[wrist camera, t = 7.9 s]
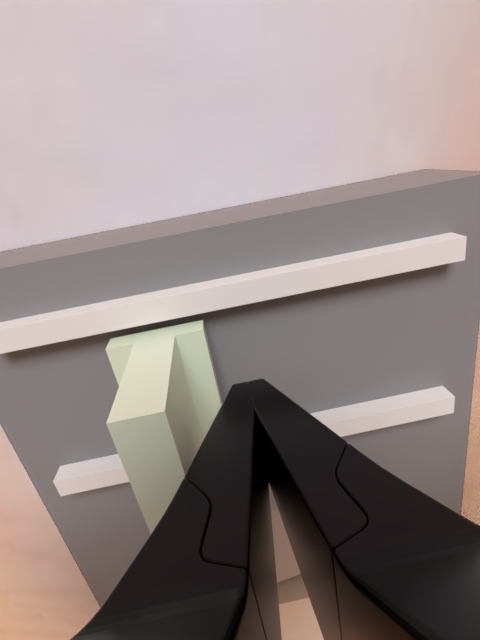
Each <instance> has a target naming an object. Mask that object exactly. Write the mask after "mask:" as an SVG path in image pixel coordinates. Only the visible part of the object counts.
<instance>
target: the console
mask: <svg viewBox="0 0 480 640" xmlns="http://www.w3.org/2000/svg"><path fill="white" fill-rule="evenodd" d="M199 320H203V322H204V326H205V330H206V335H207V339H208V343H209V347H210V352H211V356H212V360H213V364H214V369H215V373H216V377H217V381H218V386H219V390H220V394H221V398H222V403H223V402H224V400H225V398H226V396H227V394H228V392H229V390H230V388H231V386H232V385H233V384H237V383H242V382H249V381H252V380H256V379H265V380H266V381H267V382H269V383H270V384H271V385H273V386H274V387H275V388H277V389H278V390H279V391H281V392H282V393H283V394H285V395H286V396H287V397H289V398H290V399H291V400H292V401H294V402H295V403H296V404H298V405H299V406H300V407H302V408H303V409H304V410H306V411H307V412H308V413H310V414H311V415H312V416H314V417H315V418H316V419H318V420H319V421H320V422H321V423H323V424H324V425H325V426H327V427H328V428H329V429H331V430H332V431H333V432H335V433H336V434H337V435H339V436H340V437H341V438H343V439H344V440H345V441H347V443H348V444H351V445H352V446H353V447H355V448H356V449H357V450H359V451H360V452H361V453H363V454H364V455H365V456H367V457H368V458H370V459H371V460H372V461H374V462H375V463H377V464H378V465H379V466H381V467H382V468H384V469H386V470H387V471H389V472H390V473H392V474H394V475H395V476H397V477H398V478H400V479H401V480H403V481H405V482H406V483H408V484H410V485H411V486H413V487H415V488H416V489H418V490H420V491H421V492H423V493H425V494H426V495H428V496H430V497H431V498H433V499H435V500H436V501H438V502H440V503H441V504H443V505H445V506H446V507H448V508H450V509H451V510H453V511H455V512H456V513H458V514H460V515H461V507H462V497H463V486H464V476H465V466H466V455H467V445H468V434H469V424H470V414H471V403H472V393H473V383H474V372H475V362H476V351H477V341H478V331H479V320H480V171H459V170H435V169H424V170H419V171H414V172H409V173H403V174H398V175H393V176H388V177H383V178H378V179H373V180H368V181H362V182H357V183H352V184H347V185H342V186H337V187H332V188H326V189H321V190H316V191H311V192H306V193H301V194H296V195H290V196H285V197H280V198H275V199H270V200H265V201H260V202H254V203H249V204H244V205H239V206H234V207H229V208H224V209H219V210H213V211H208V212H203V213H198V214H193V215H188V216H183V217H177V218H172V219H167V220H162V221H157V222H152V223H147V224H141V225H136V226H131V227H126V228H121V229H116V230H111V231H105V232H100V233H95V234H90V235H85V236H80V237H75V238H70V239H64V240H59V241H54V242H49V243H44V244H39V245H34V246H28V247H23V248H18V249H13V250H8V251H3V252H0V424H1V426H2V428H3V430H4V431H5V433H6V435H7V437H8V439H9V441H10V442H11V444H12V446H13V448H14V450H15V452H16V453H17V455H18V457H19V459H20V461H21V463H22V464H23V466H24V468H25V470H26V472H27V474H28V475H29V477H30V479H31V481H32V483H33V485H34V486H35V488H36V490H37V492H38V494H39V496H40V497H41V499H42V501H43V503H44V505H45V507H46V508H47V510H48V512H49V514H50V516H51V517H52V519H53V521H54V523H55V525H56V527H57V528H58V530H59V532H60V534H61V536H62V538H63V539H64V541H65V543H66V545H67V547H68V549H69V550H70V552H71V554H72V556H73V558H74V560H75V561H76V563H77V565H78V567H79V569H80V571H81V572H82V574H83V576H84V578H85V580H86V582H87V583H88V585H89V587H90V589H91V591H92V593H93V594H94V596H95V598H96V600H97V602H98V604H99V605H100V607H102V605H103V604H104V603H105V601H106V600H107V598H108V597H109V596H110V594H111V593H112V591H113V590H114V588H115V587H116V585H117V584H118V582H119V581H120V579H121V578H122V576H123V575H124V573H125V572H126V570H127V569H128V567H129V566H130V565H131V563H132V562H133V560H134V559H135V557H136V556H137V554H138V553H139V551H140V550H141V548H142V547H143V545H144V544H145V542H146V541H147V539H148V538H149V536H150V535H151V534H150V531H149V529H148V526H147V524H146V521H145V519H144V517H143V514H142V512H141V509H140V507H139V504H138V502H137V499H136V497H135V494H134V492H133V489H132V487H131V484H130V482H129V479H128V477H127V474H126V472H125V469H124V467H123V464H122V462H121V459H120V457H119V454H118V452H117V449H116V447H115V444H114V442H113V439H112V437H111V434H110V432H109V429H108V427H107V424H106V423H107V420H108V417H109V414H110V411H111V408H112V405H113V402H114V400H115V397H116V394H117V391H118V388H119V385H118V383H117V380H116V377H115V374H114V372H113V369H112V366H111V363H110V361H109V358H108V355H107V352H106V350H105V349H106V347H107V345H108V343H109V341H110V339H111V338H115V337H120V336H125V335H130V334H135V333H140V332H145V331H150V330H155V329H159V328H164V327H169V326H174V325H179V324H184V323H189V322H194V321H199ZM299 575H301V574H299ZM299 575H297V576H299ZM294 577H295V576H294Z"/></svg>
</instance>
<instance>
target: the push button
mask: <svg viewBox="0 0 480 640" xmlns="http://www.w3.org/2000/svg"><path fill="white" fill-rule="evenodd" d="M277 588H278V600H279V612H280V624H281V636H282V640H324V638H323V636H322V633H321V630H320V627H319V624H318V621H317V618H316V616H315V613H314V610H313V607H312V604H311V601H310V598H309V596H308V593H307V590H306V587H305V584H304V581H303V578H302V576H301V575H299V576H295V577H291V578H289V579H286V580H283V581H281V582H278V583H277Z"/></svg>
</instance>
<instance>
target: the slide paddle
mask: <svg viewBox="0 0 480 640" xmlns="http://www.w3.org/2000/svg"><path fill="white" fill-rule="evenodd" d="M105 350H106V352H107V355H108V358H109V361H110V363H111V366H112V369H113V372H114V374H115V377H116V380H117V383H118V385H119V388H118V391H117V394H116V397H115V400H114V402H113V405H112V408H111V411H110V414H109V417H108V420H107V423H106V424H107V427H108V429H109V432H110V434H111V437H112V439H113V442H114V444H115V447H116V449H117V452H118V454H119V457H120V459H121V462H122V464H123V467H124V469H125V472H126V474H127V477H128V479H129V482H130V484H131V487H132V489H133V492H134V494H135V497H136V499H137V502H138V504H139V507H140V509H141V512H142V514H143V517H144V519H145V521H146V524H147V526H148V529H149V531H150V534H151V533H152V532H153V530H154V529H155V527H156V526H157V524H158V522H159V521H160V519H161V518H162V516H163V515H164V513H165V511H166V510H167V508H168V506H169V504H170V502H171V501H172V499H173V497H174V495H175V493H176V492H177V490H178V488H179V486H180V484H181V482H182V480H183V479H184V477H185V475H186V473H187V471H188V469H189V467H190V465H191V463H192V461H193V459H194V457H195V456H196V454H197V452H198V450H199V448H200V446H201V444H202V442H203V440H204V438H205V436H206V434H207V432H208V431H209V429H210V427H211V425H212V423H213V421H214V419H215V417H216V415H217V413H218V411H219V409H220V407H221V406H222V404H223V403H222V398H221V394H220V390H219V386H218V381H217V377H216V373H215V369H214V364H213V360H212V356H211V352H210V347H209V343H208V339H207V335H206V330H205V326H204V322H203V320H199V321H194V322H189V323H184V324H179V325H174V326H169V327H164V328H159V329H155V330H150V331H145V332H140V333H135V334H130V335H125V336H120V337H115V338H111V339H110V341H109V343H108V345H107V347H106V349H105Z"/></svg>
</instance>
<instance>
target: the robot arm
mask: <svg viewBox="0 0 480 640" xmlns="http://www.w3.org/2000/svg"><path fill="white" fill-rule="evenodd" d="M269 484H270V487H271V490H272V493H273V496H274V499H275V501H276V504H277V507H278V510H279V513H280V516H281V519H282V521H283V524H284V527H285V530H286V533H287V536H288V539H289V541H290V544H291V547H292V550H293V553H294V556H295V559H296V561H297V564H298V567H299V570H300V573H301V576H302V578H303V581H304V584H305V587H306V590H307V593H308V596H309V598H310V601H311V604H312V607H313V610H314V613H315V616H316V618H317V621H318V624H319V627H320V630H321V633H322V636H323V638H324V640H480V526H479V525H477V524H475V523H474V522H472V521H470V520H468V519H467V518H465V517H463V516H461V515H460V514H458V513H456V512H455V511H453V510H451V509H450V508H448V507H446V506H445V505H443V504H441V503H440V502H438V501H436V500H435V499H433V498H431V497H430V496H428V495H426V494H425V493H423V492H421V491H420V490H418V489H416V488H415V487H413V486H411V485H410V484H408V483H406V482H405V481H403V480H401V479H400V478H398V477H397V476H395V475H394V474H392V473H390V472H389V471H387V470H386V469H384V468H382V467H381V466H379V465H378V464H377V463H375V462H374V461H372V460H371V459H370V458H368V457H367V456H365V455H364V454H363V453H361V452H360V451H359V450H357V449H356V448H355V447H353V446H352V445H351V444H348V443H347V441H345V440H344V439H343V438H341V437H340V436H339V435H337V434H336V433H335V432H333V431H332V430H331V429H329V428H328V427H327V426H325V425H324V424H323V423H321V422H320V421H319V420H318V419H316V418H315V417H314V416H312V415H311V414H310V413H308V412H307V411H306V410H304V409H303V408H302V407H300V406H299V405H298V404H296V403H295V402H294V401H292V400H291V399H290V398H289V397H287V396H286V395H285V394H283V393H282V392H281V391H279V390H278V389H277V388H275V387H274V386H273V385H271V384H270V383H269V382H267V381H266V380H265V379H256V380H252V381H249V382H242V383H237V384H233V385H232V386H231V388H230V390H229V392H228V394H227V396H226V398H225V400H224V402H223V404H222V406H221V407H220V409H219V411H218V413H217V415H216V417H215V419H214V421H213V423H212V425H211V427H210V429H209V431H208V432H207V434H206V436H205V438H204V440H203V442H202V444H201V446H200V448H199V450H198V452H197V454H196V456H195V457H194V459H193V461H192V463H191V465H190V467H189V469H188V471H187V473H186V475H185V477H184V479H183V480H182V482H181V484H180V486H179V488H178V490H177V492H176V493H175V495H174V497H173V499H172V501H171V502H170V504H169V506H168V508H167V510H166V511H165V513H164V515H163V516H162V518H161V519H160V521H159V522H158V524H157V526H156V527H155V529H154V530H153V532H152V533H151V535H150V536H149V538H148V539H147V541H146V542H145V544H144V545H143V547H142V548H141V550H140V551H139V553H138V554H137V556H136V557H135V559H134V560H133V562H132V563H131V565H130V566H129V567H128V569H127V570H126V572H125V573H124V575H123V576H122V578H121V579H120V581H119V582H118V584H117V585H116V587H115V588H114V590H113V591H112V593H111V594H110V596H109V597H108V598H107V600H106V601H105V603H104V604H103V605H102V607H101V608H100V609H99V611H98V612H97V613H96V614H95V616H94V617H93V618H92V619H91V620H90V622H89V623H88V624H87V625H86V626H85V627H84V628H83V629H82V630H81V631H80V632H79V633H77V634H76V635H75V636H74V637H73V638H71V639H70V640H282V636H281V624H280V612H279V600H278V588H277V576H276V564H275V552H274V541H273V529H272V517H271V505H270V493H269Z"/></svg>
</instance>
